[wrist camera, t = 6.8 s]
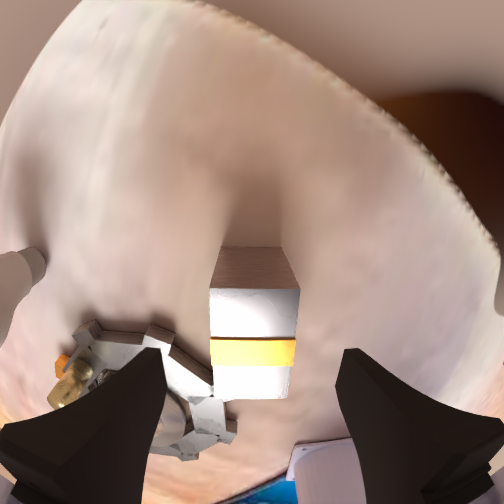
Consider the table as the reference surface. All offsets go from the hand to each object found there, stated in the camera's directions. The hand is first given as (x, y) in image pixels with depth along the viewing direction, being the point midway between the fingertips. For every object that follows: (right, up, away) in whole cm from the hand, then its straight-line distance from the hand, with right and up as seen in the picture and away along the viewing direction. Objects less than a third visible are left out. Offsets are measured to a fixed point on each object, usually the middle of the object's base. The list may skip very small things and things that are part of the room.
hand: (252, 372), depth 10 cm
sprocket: (-9, -7, +10) cm, 15 cm away
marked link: (0, +2, +7) cm, 7 cm away
